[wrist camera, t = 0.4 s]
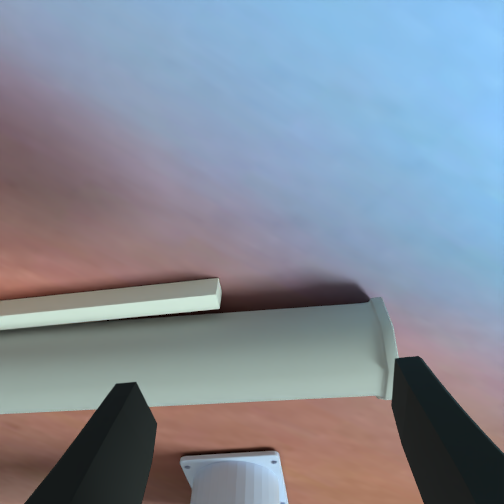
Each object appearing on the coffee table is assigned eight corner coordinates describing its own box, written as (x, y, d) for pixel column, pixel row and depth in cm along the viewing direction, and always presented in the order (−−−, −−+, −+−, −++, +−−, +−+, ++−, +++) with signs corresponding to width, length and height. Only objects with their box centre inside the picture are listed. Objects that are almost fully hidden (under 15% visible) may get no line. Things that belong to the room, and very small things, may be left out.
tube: (-34, 433, 23) (388, 414, 21) (-111, 408, 19) (408, 380, 17) (1, 350, 26) (368, 326, 24) (-58, 312, 22) (381, 279, 20)
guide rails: (241, 375, 25) (241, 393, 24) (17, 393, 27) (6, 411, 26) (218, 277, 21) (216, 294, 20) (-50, 306, 22) (-67, 322, 21)
